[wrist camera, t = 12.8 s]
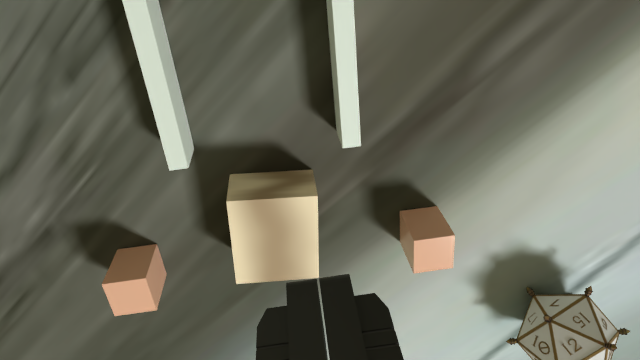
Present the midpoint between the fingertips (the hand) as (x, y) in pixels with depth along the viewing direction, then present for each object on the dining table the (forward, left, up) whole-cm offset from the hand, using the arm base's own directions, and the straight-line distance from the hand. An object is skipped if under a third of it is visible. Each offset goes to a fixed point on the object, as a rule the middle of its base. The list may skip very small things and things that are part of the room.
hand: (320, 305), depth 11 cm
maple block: (+2, +11, -22) cm, 25 cm away
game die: (-21, +25, -22) cm, 40 cm away
